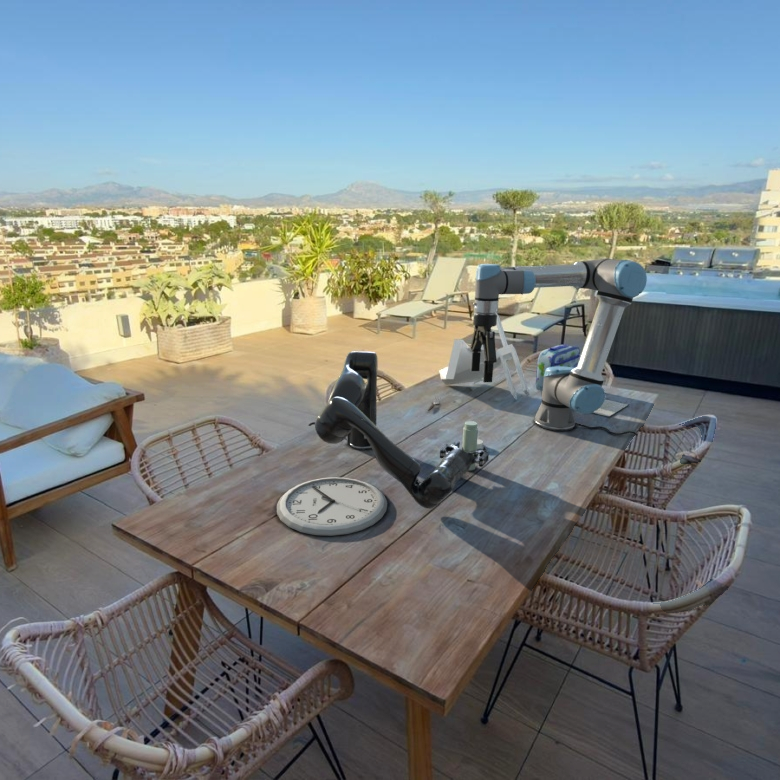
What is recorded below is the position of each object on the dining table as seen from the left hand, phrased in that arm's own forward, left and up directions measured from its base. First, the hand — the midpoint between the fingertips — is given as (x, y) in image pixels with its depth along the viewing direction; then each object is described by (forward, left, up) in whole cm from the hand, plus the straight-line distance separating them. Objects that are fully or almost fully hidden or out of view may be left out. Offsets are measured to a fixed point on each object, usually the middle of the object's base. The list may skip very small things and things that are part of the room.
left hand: (471, 446), depth 166 cm
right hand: (-3, +16, +19) cm, 25 cm away
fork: (-32, +48, -7) cm, 58 cm away
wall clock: (-25, -42, -7) cm, 50 cm away
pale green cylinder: (0, -2, -7) cm, 7 cm away
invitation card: (+32, +83, -7) cm, 90 cm away
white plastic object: (-20, +77, -7) cm, 80 cm away
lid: (-3, +16, -5) cm, 17 cm away
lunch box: (+10, +100, -7) cm, 101 cm away
